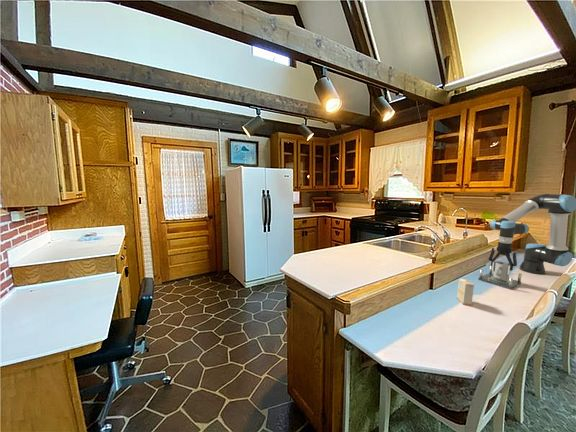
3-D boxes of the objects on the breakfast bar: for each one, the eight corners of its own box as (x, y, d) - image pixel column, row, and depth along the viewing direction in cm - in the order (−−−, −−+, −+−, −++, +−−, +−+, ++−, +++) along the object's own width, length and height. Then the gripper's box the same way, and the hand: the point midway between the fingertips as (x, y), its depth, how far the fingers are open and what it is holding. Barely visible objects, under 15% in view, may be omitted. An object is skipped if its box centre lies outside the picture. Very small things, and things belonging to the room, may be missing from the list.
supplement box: (471, 305, 144) (474, 284, 142) (462, 304, 145) (465, 283, 143) (464, 298, 152) (467, 279, 150) (456, 298, 153) (458, 278, 151)
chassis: (489, 274, 192) (490, 265, 191) (521, 283, 176) (522, 274, 175) (478, 279, 182) (479, 270, 181) (510, 289, 166) (512, 279, 165)
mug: (496, 274, 185) (498, 260, 184) (510, 278, 178) (512, 264, 176) (488, 277, 180) (490, 263, 178) (503, 281, 172) (505, 266, 171)
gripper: (485, 239, 182) (481, 268, 185) (523, 246, 164) (517, 278, 167) (489, 238, 186) (485, 266, 189) (526, 245, 168) (521, 276, 171)
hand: (500, 272), depth 178 cm, fingers closed on mug, 8 cm apart
